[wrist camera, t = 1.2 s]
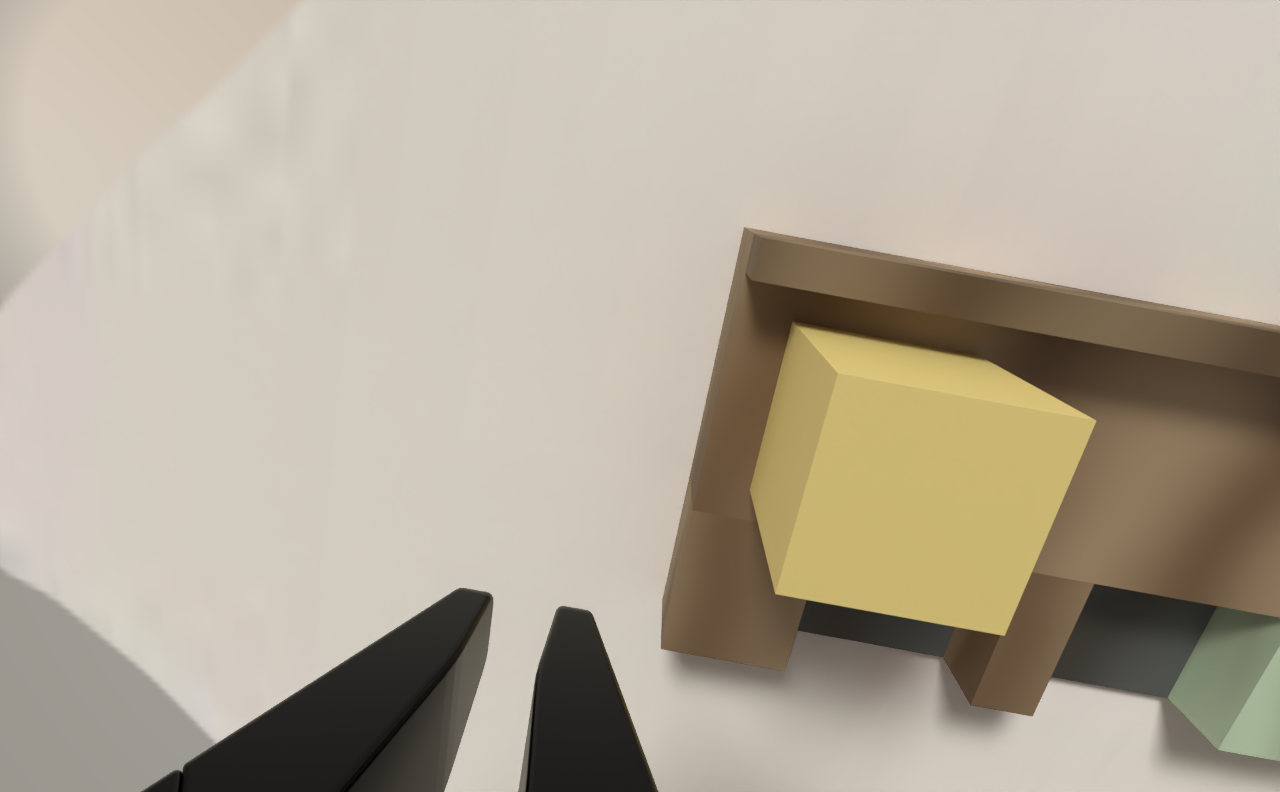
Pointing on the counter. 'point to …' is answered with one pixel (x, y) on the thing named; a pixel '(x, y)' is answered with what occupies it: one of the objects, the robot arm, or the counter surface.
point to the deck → (1087, 518)
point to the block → (909, 478)
